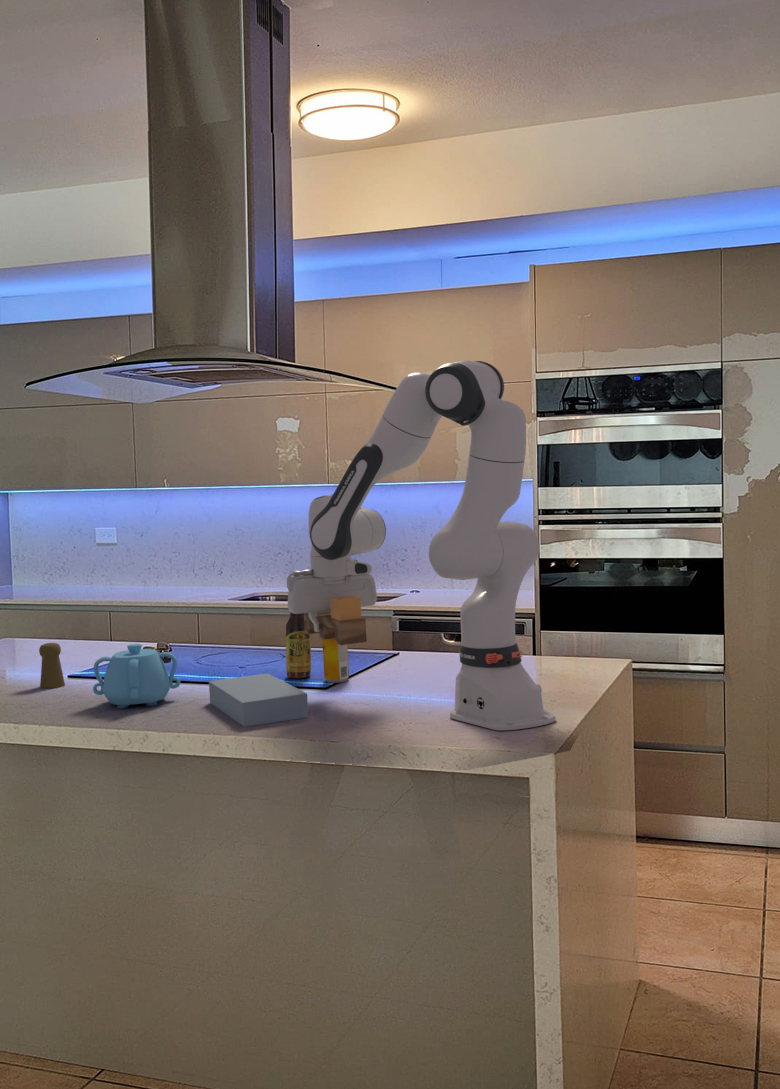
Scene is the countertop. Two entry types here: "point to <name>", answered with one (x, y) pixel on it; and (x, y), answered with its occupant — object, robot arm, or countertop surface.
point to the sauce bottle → (297, 648)
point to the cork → (51, 666)
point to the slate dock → (258, 699)
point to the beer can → (335, 661)
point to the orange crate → (345, 608)
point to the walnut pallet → (338, 629)
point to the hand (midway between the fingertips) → (334, 629)
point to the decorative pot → (136, 677)
